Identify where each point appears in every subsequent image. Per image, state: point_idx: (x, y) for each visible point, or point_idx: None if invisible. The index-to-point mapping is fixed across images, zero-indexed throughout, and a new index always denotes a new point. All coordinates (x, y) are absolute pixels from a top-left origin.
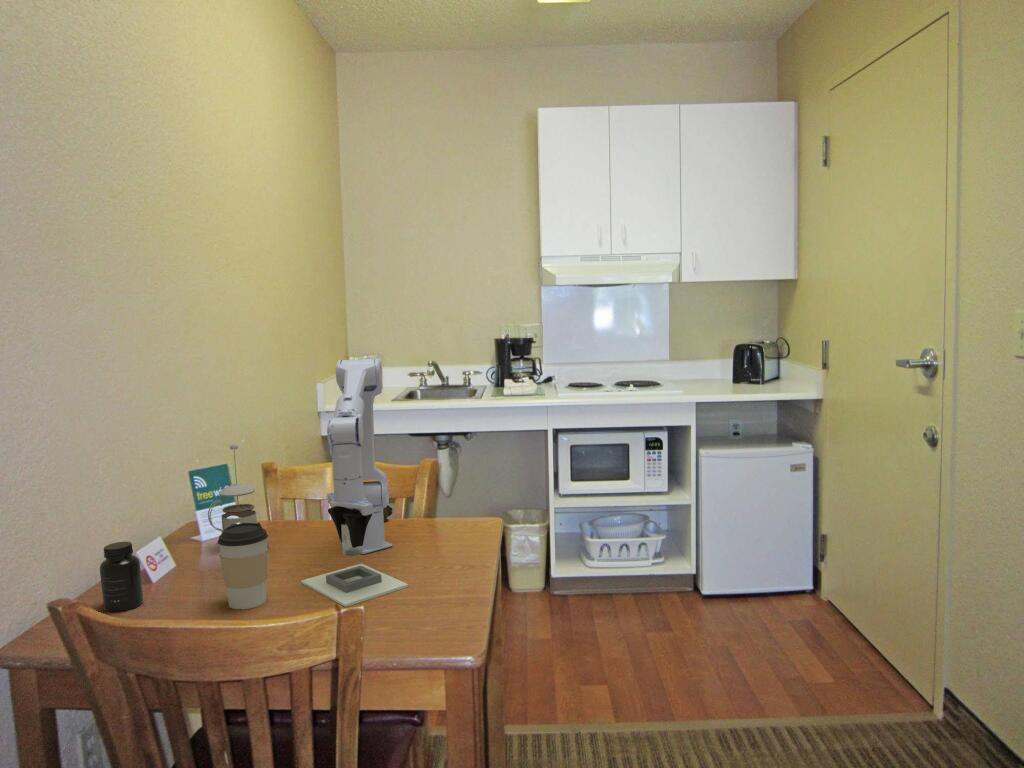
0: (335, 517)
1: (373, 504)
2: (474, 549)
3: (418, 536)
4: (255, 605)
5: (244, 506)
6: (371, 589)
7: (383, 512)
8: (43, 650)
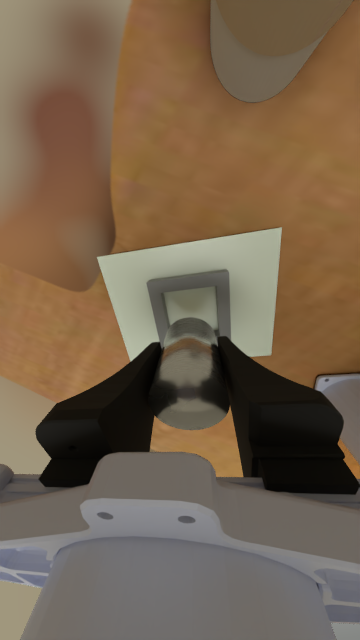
0: (240, 386)
1: None
2: (208, 460)
3: None
4: (210, 43)
5: None
6: (141, 319)
7: None
8: None
